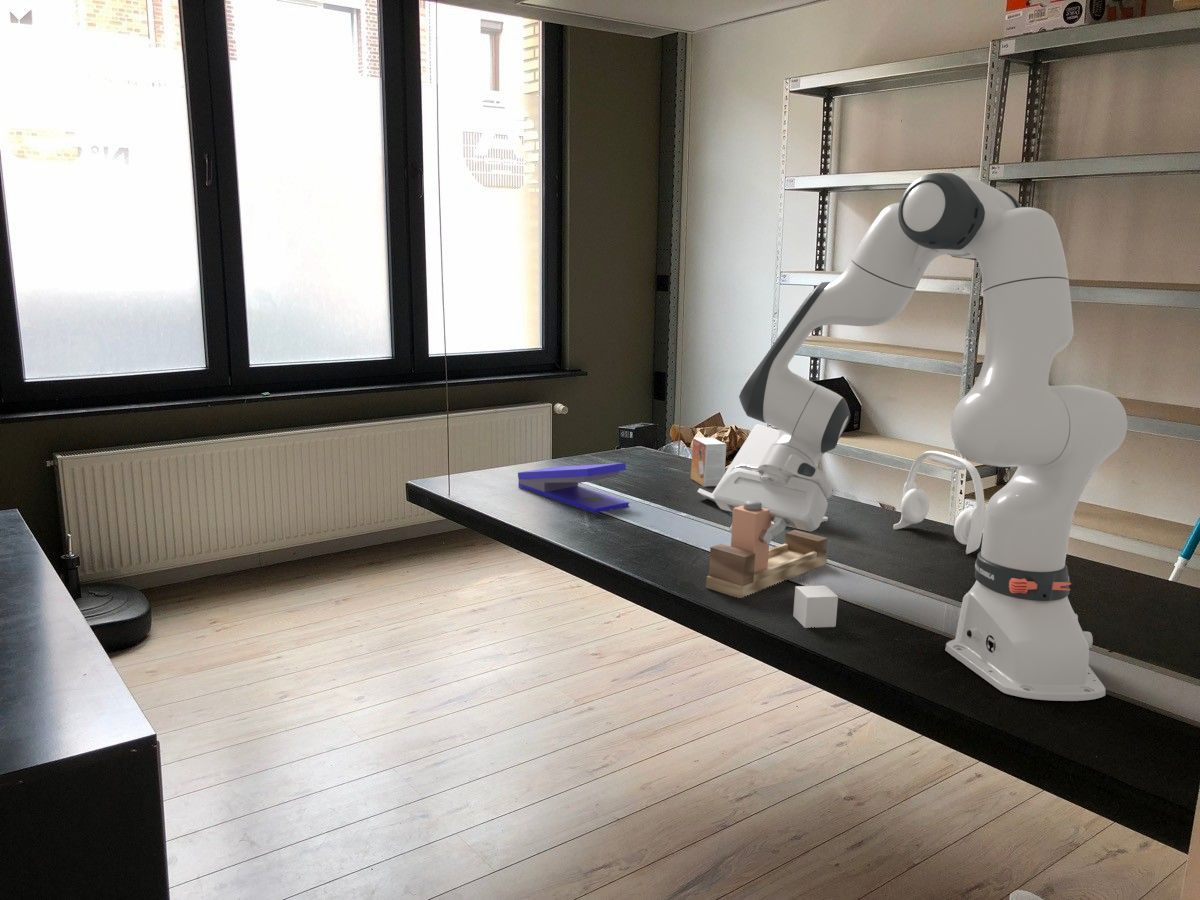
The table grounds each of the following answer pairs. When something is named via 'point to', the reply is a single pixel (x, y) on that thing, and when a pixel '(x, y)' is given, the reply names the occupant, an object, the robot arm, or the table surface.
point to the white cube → (815, 606)
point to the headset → (918, 502)
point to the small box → (708, 461)
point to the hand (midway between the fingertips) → (748, 537)
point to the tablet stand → (752, 453)
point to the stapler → (574, 485)
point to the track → (785, 561)
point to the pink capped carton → (751, 531)
